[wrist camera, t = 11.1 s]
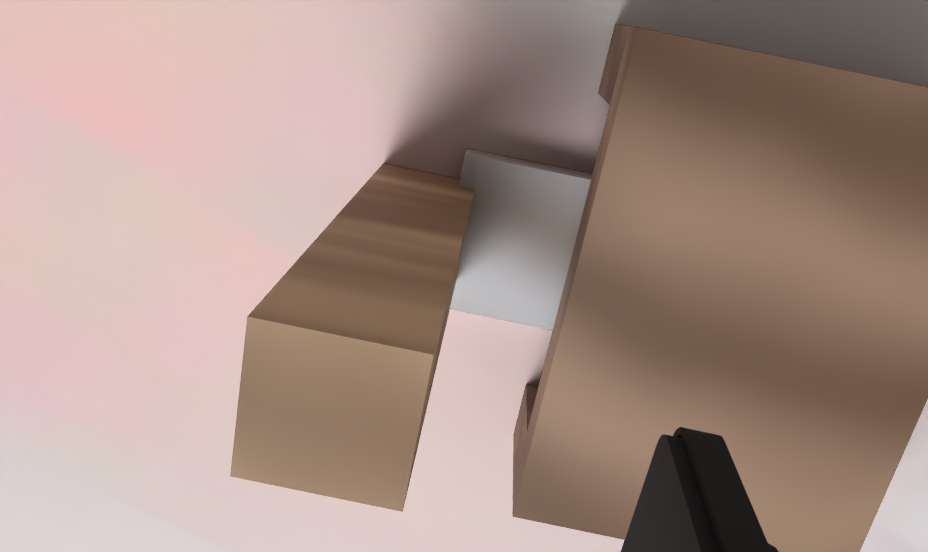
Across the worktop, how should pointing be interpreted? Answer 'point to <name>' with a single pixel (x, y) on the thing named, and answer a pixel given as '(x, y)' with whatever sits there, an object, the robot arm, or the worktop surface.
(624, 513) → the wooden bench
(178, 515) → the worktop surface
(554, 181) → the blade tool
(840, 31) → the worktop surface
